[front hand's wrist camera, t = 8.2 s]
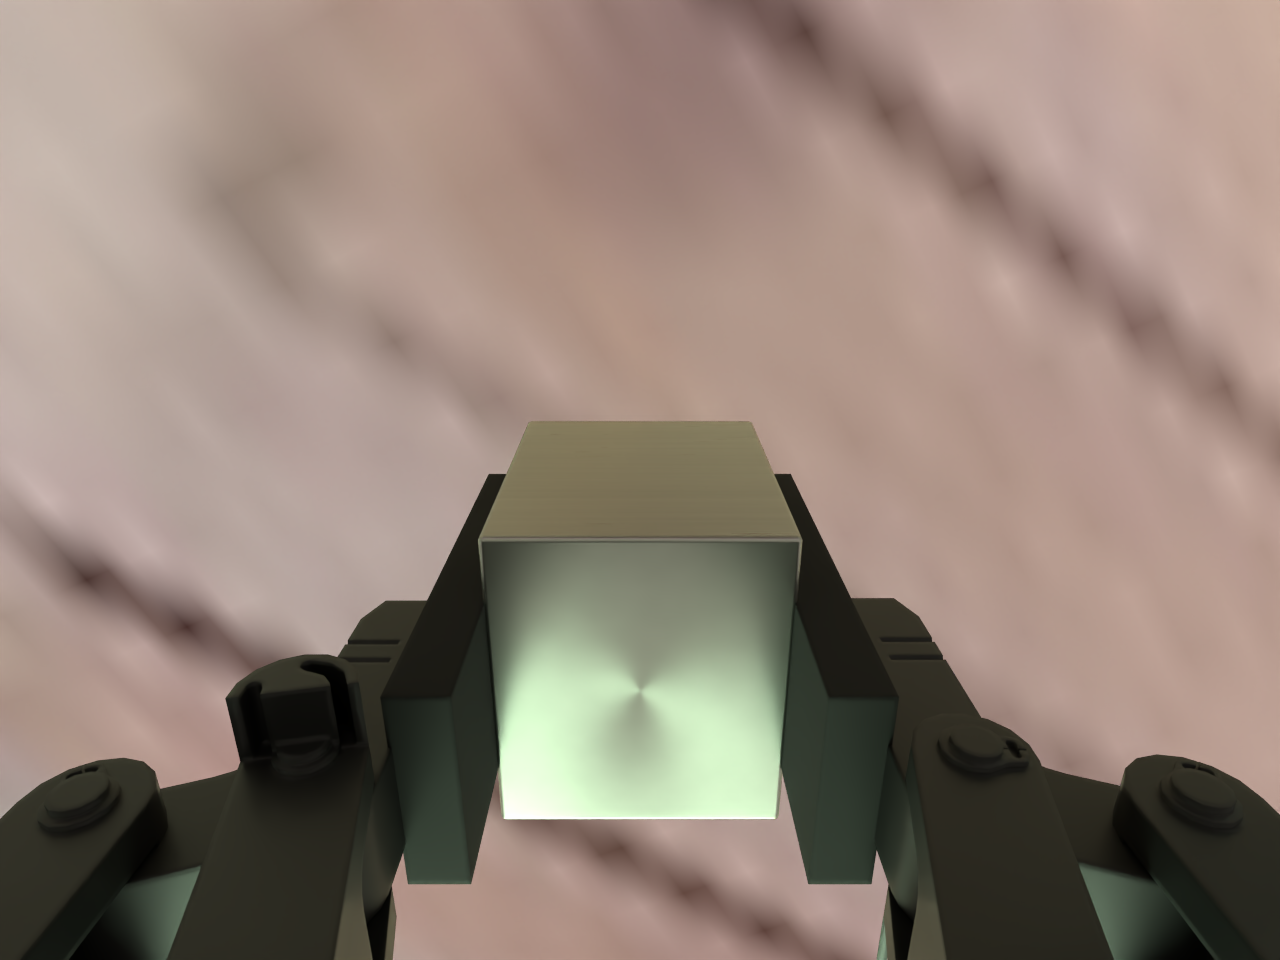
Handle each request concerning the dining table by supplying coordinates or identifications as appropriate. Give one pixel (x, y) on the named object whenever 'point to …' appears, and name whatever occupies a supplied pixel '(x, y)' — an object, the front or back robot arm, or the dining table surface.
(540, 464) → the block
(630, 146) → the dining table surface
